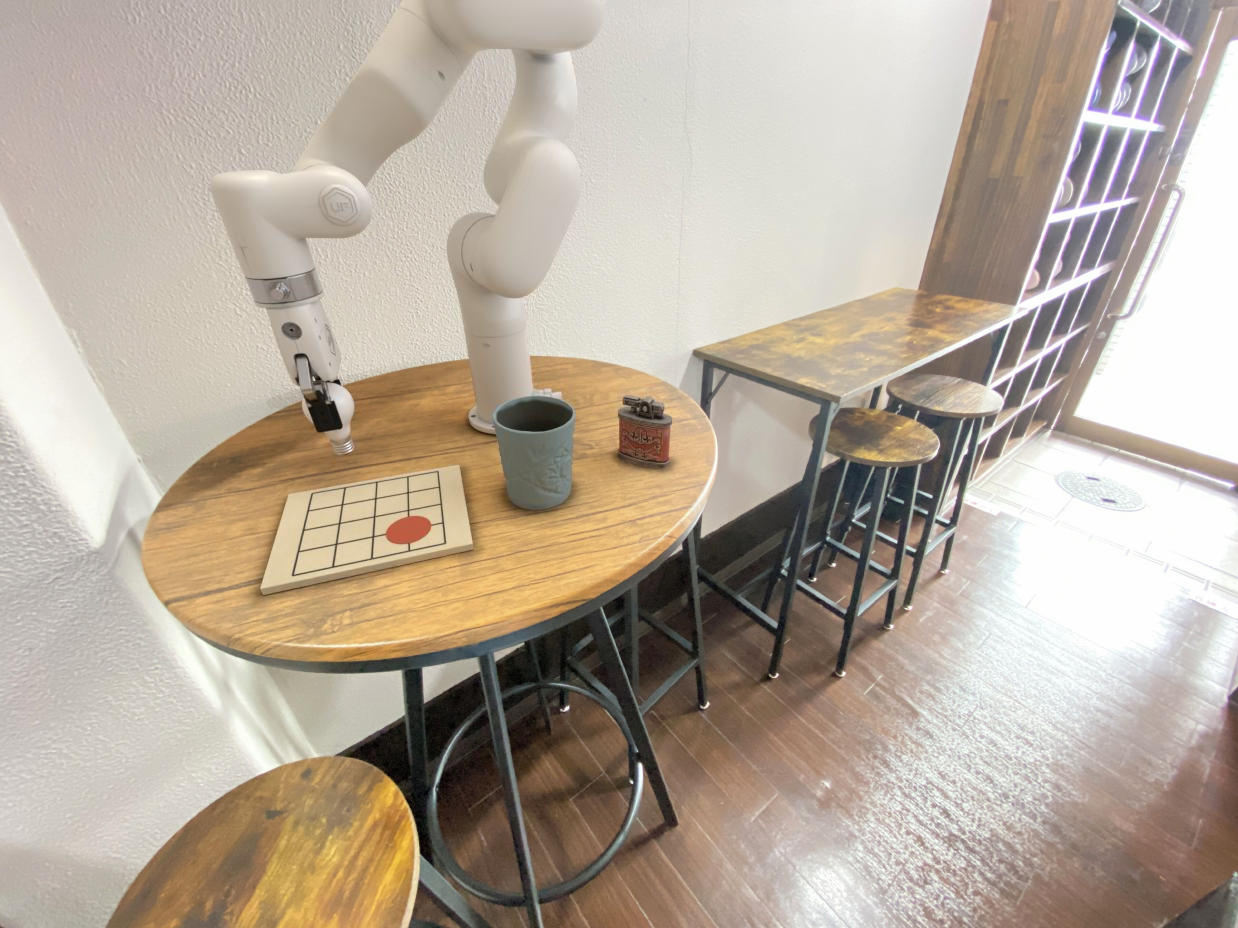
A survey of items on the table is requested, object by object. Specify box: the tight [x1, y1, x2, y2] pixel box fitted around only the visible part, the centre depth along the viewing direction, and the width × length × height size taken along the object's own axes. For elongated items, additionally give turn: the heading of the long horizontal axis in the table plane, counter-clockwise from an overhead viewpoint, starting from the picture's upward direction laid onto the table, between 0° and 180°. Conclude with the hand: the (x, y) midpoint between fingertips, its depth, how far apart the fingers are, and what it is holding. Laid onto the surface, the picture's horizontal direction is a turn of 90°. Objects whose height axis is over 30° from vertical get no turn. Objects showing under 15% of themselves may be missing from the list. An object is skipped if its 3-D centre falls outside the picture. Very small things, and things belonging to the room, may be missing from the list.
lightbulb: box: [301, 382, 356, 456], centre depth 75 cm, size 6×6×11 cm
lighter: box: [617, 394, 673, 469], centre depth 77 cm, size 8×3×10 cm, turn 65°
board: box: [259, 464, 474, 596], centre depth 66 cm, size 22×18×1 cm
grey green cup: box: [492, 396, 576, 511], centre depth 69 cm, size 10×10×12 cm
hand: (332, 416), depth 74 cm, fingers closed on lightbulb, 6 cm apart
